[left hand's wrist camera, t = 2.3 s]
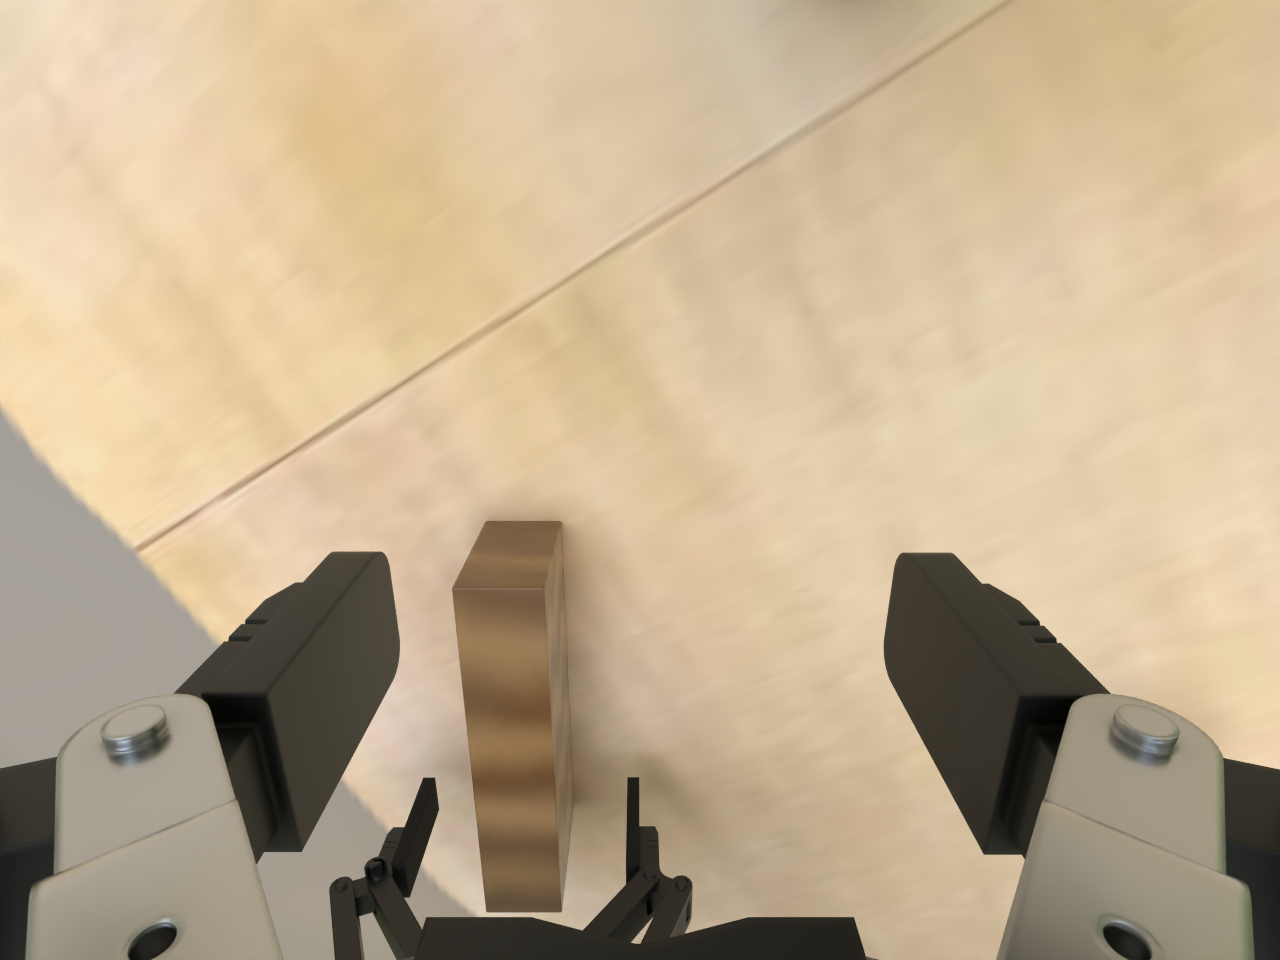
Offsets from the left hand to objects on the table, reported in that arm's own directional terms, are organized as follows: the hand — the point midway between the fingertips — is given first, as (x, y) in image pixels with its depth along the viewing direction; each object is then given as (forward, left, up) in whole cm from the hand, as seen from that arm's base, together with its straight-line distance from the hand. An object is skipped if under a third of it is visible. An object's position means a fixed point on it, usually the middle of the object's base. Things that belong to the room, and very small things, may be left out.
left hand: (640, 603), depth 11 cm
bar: (+23, -7, -30) cm, 38 cm away
